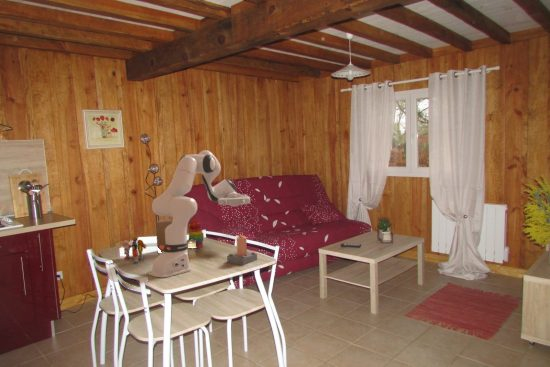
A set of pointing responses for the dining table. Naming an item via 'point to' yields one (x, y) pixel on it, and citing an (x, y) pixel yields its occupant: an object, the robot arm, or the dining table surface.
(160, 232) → the block
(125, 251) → the doll family
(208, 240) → the dining table surface
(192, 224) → the stacking bear
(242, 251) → the terracotta brick
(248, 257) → the charcoal base brick
